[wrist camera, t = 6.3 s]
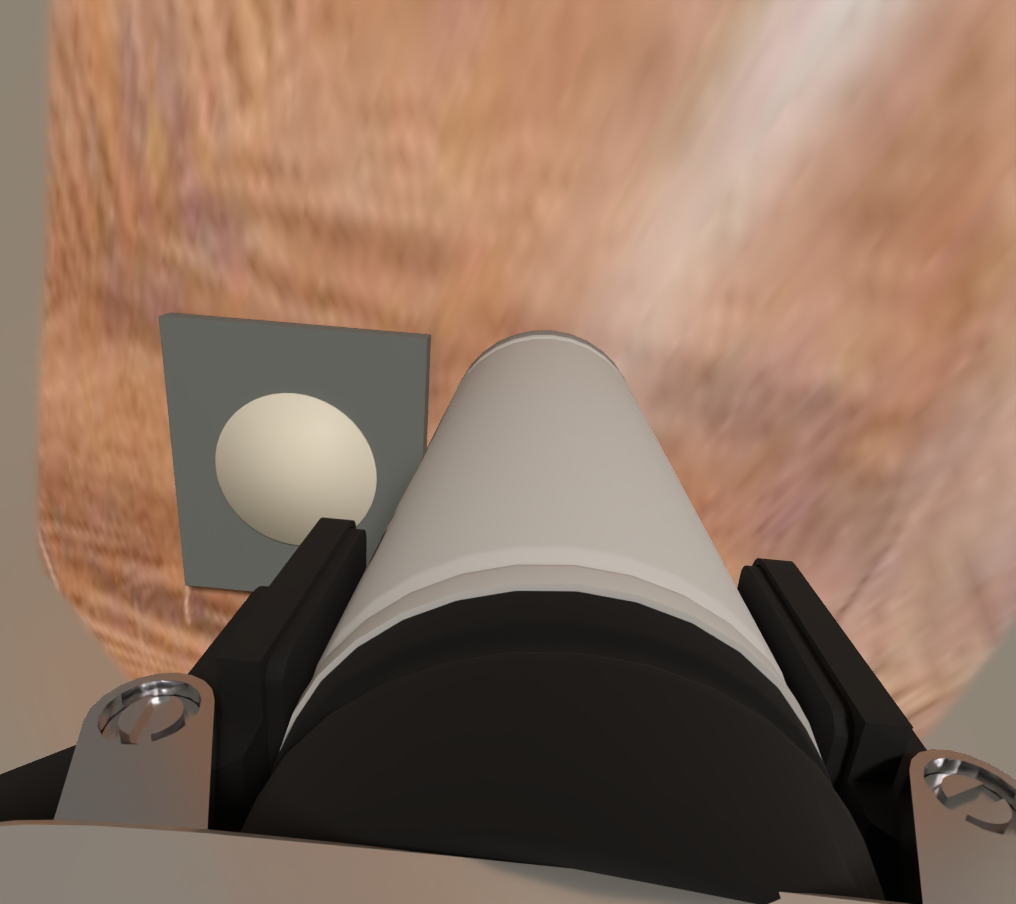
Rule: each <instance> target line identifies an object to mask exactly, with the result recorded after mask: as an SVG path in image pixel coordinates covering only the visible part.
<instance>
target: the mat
mask: <svg viewBox="0 0 1016 904" xmlns="http://www.w3.org/2000/svg"><path fill="white" fill-rule="evenodd" d="M159 324H160V334H161V344H162V354H163V364H164V374H165V384H166V395H167V405H168V415H169V425H170V435H171V445H172V455H173V465H174V475H175V485H176V496H177V506H178V516H179V526H180V536H181V546H182V556H183V566H184V576H185V585H189V586H199V587H210V588H221V589H231V590H242V591H254V590H255V589H256V588H257V587H259V586H269V585H270V584H271V583H272V581H273V580H274V579H275V577H276V576H277V575H278V574H279V572H280V571H281V570H282V568H283V567H284V566H285V564H286V563H287V562H288V560H289V559H290V558H291V556H292V555H293V554H294V552H295V551H296V550H297V548H298V547H299V546H300V544H301V543H302V542H303V540H304V539H305V538H306V536H307V535H308V534H309V533H310V531H311V530H312V529H313V527H314V526H315V525H316V523H317V522H318V521H319V519H320V518H322V517H324V518H334V519H345V520H354V521H355V523H356V529H364V530H365V531H366V537H367V552H366V568H367V566H368V564H369V562H370V560H371V558H372V556H373V554H374V552H375V550H376V548H377V546H378V544H379V542H380V540H381V538H382V536H383V534H384V532H385V530H386V528H387V526H388V524H389V522H390V520H391V518H392V516H393V514H394V512H395V510H396V508H397V506H398V504H399V502H400V500H401V498H402V497H403V495H404V493H405V491H406V489H407V487H408V485H409V483H410V481H411V479H412V477H413V475H414V473H415V471H416V469H417V467H418V465H419V463H420V461H421V459H422V457H423V455H424V453H425V451H426V449H427V422H428V395H429V368H430V341H431V335H428V334H416V333H404V332H392V331H381V330H369V329H357V328H345V327H333V326H322V325H310V324H298V323H286V322H274V321H263V320H251V319H239V318H227V317H215V316H203V315H192V314H180V313H168V314H164V315H160V316H159Z"/></svg>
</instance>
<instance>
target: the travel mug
mask: <svg viewBox="0 0 1016 904" xmlns="http://www.w3.org/2000/svg"><path fill="white" fill-rule="evenodd" d="M240 833H249V834H259V835H269V836H279V837H289V838H299V839H309V840H319V841H328V842H338V843H348V844H358V845H366V846H374V847H382V848H391V849H400V850H409V851H418V852H427V853H436V854H445V855H453V856H462V857H471V858H480V859H489V860H498V861H506V862H515V863H525V864H534V865H543V866H552V867H561V868H570V869H577V870H582V871H588V872H593V873H598V874H603V875H609V876H614V877H619V878H624V879H629V880H635V881H640V882H645V883H650V884H656V885H661V886H666V887H671V888H677V889H682V890H687V891H692V892H697V893H702V894H707V895H712V896H718V897H723V898H728V899H733V900H738V901H743V902H748V903H754V904H769V903H772V902H775V901H777V900H779V899H781V897H780V894H779V892H790V893H815V894H829V895H838V896H847V897H856V898H865V899H874V900H883V901H886V900H885V897H884V894H883V891H882V888H881V885H880V883H879V880H878V877H877V874H876V872H875V869H874V866H873V863H872V861H871V858H870V855H869V852H868V850H867V847H866V844H865V842H864V839H863V837H862V835H861V833H860V831H859V829H858V827H857V825H856V823H855V821H854V820H853V818H852V816H851V814H850V812H849V810H848V809H847V807H846V806H845V804H844V803H843V801H842V800H841V798H840V797H839V795H838V794H837V792H836V791H835V790H834V788H833V786H832V783H831V780H830V777H829V774H828V772H827V769H826V766H825V764H824V762H823V760H822V758H821V755H820V752H819V749H818V747H817V744H816V741H815V738H814V735H813V733H812V730H811V727H810V724H809V722H808V720H807V718H806V716H805V715H804V713H803V711H802V709H801V707H800V705H799V703H798V702H797V700H796V698H795V697H794V695H793V694H792V692H791V691H790V689H789V688H788V686H787V685H786V682H785V680H784V677H783V674H782V672H781V670H780V668H779V666H778V664H777V662H776V660H775V659H774V657H773V655H772V653H771V651H770V649H769V647H768V646H767V644H766V642H765V640H764V638H763V636H762V634H761V632H760V631H759V629H758V627H757V625H756V623H755V621H754V619H753V618H752V616H751V614H750V612H749V610H748V608H747V606H746V604H745V603H744V601H743V599H742V597H741V595H740V593H739V591H738V590H737V588H736V586H735V584H734V582H733V580H732V578H731V576H730V575H729V573H728V571H727V569H726V567H725V565H724V563H723V562H722V560H721V558H720V556H719V554H718V552H717V550H716V549H715V547H714V545H713V543H712V541H711V539H710V537H709V535H708V534H707V532H706V530H705V528H704V526H703V524H702V522H701V521H700V519H699V517H698V515H697V513H696V511H695V509H694V507H693V506H692V504H691V502H690V500H689V498H688V496H687V494H686V493H685V491H684V489H683V487H682V485H681V483H680V481H679V479H678V478H677V476H676V474H675V472H674V470H673V468H672V466H671V465H670V463H669V461H668V459H667V457H666V455H665V453H664V451H663V450H662V448H661V446H660V444H659V442H658V440H657V438H656V437H655V435H654V433H653V431H652V429H651V427H650V425H649V424H648V422H647V420H646V418H645V416H644V414H643V412H642V410H641V409H640V407H639V405H638V403H637V401H636V399H635V397H634V396H633V394H632V392H631V390H630V388H629V386H628V384H627V382H626V381H625V379H624V377H623V376H622V374H621V373H620V371H619V369H618V368H617V366H616V365H615V363H614V362H613V361H612V360H611V359H610V358H609V357H608V356H607V355H606V354H605V353H604V352H603V351H602V350H600V349H598V348H597V347H595V346H594V345H592V344H591V343H589V342H588V341H586V340H584V339H581V338H579V337H576V336H574V335H571V334H568V333H562V332H557V331H552V330H550V331H529V332H525V333H520V334H515V335H513V336H510V337H508V338H506V339H503V340H501V341H499V342H497V343H496V344H494V345H493V346H491V347H490V348H488V349H487V350H486V351H484V352H483V353H482V354H481V355H480V356H479V357H478V358H477V359H476V360H475V361H474V362H473V363H472V364H471V366H470V367H469V369H468V370H467V372H466V374H465V375H464V377H463V378H462V380H461V382H460V384H459V386H458V388H457V390H456V392H455V394H454V396H453V398H452V400H451V402H450V404H449V406H448V408H447V410H446V412H445V414H444V416H443V418H442V419H441V421H440V423H439V425H438V427H437V429H436V431H435V433H434V435H433V437H432V439H431V441H430V443H429V445H428V447H427V449H426V451H425V453H424V455H423V457H422V459H421V461H420V463H419V465H418V467H417V469H416V471H415V473H414V475H413V477H412V479H411V481H410V483H409V485H408V487H407V489H406V491H405V493H404V495H403V497H402V498H401V500H400V502H399V504H398V506H397V508H396V510H395V512H394V514H393V516H392V518H391V520H390V522H389V524H388V526H387V528H386V530H385V532H384V534H383V536H382V538H381V540H380V542H379V544H378V546H377V548H376V550H375V552H374V554H373V556H372V558H371V560H370V562H369V564H368V566H367V568H366V570H365V572H364V574H363V576H362V578H361V579H360V581H359V583H358V585H357V587H356V589H355V591H354V593H353V595H352V597H351V599H350V601H349V603H348V605H347V607H346V609H345V611H344V613H343V615H342V617H341V619H340V621H339V623H338V625H337V627H336V629H335V631H334V633H333V635H332V637H331V639H330V641H329V643H328V645H327V647H326V649H325V651H324V653H323V655H322V657H321V658H320V660H319V662H318V664H317V667H316V670H315V672H314V675H313V678H312V680H311V682H310V683H309V685H308V686H307V688H306V689H305V691H304V692H303V694H302V696H301V698H300V700H299V702H298V704H297V706H296V708H295V710H294V712H293V714H292V717H291V719H290V722H289V725H288V728H287V731H286V734H285V737H284V739H283V742H282V745H281V748H280V751H279V754H278V756H277V759H276V762H275V765H274V768H273V770H272V773H271V776H270V778H269V780H268V781H267V783H266V784H265V786H264V787H263V789H262V790H261V792H260V793H259V795H258V796H257V798H256V800H255V802H254V804H253V806H252V808H251V810H250V812H249V814H248V816H247V818H246V820H245V823H244V825H243V827H242V829H241V831H240Z"/></svg>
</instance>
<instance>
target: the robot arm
mask: <svg viewBox="0 0 1016 904" xmlns="http://www.w3.org/2000/svg"><path fill="white" fill-rule="evenodd" d="M366 552H367V537H366V531H365V530H364V529H356V523H355V521H354V520H345V519H334V518H324V517H322V518H320V519H319V521H318V522H317V523H316V525H315V526H314V527H313V529H312V530H311V531H310V533H309V534H308V535H307V536H306V538H305V539H304V540H303V542H302V543H301V544H300V546H299V547H298V548H297V550H296V551H295V552H294V554H293V555H292V556H291V558H290V559H289V560H288V562H287V563H286V564H285V566H284V567H283V568H282V570H281V571H280V572H279V574H278V575H277V576H276V577H275V579H274V580H273V581H272V583H271V584H270V585H269V586H259V587H257V588H256V589H255V590H254V591H253V592H252V593H251V595H250V596H249V597H248V598H247V600H246V601H245V602H244V604H243V605H242V606H241V607H240V609H239V610H238V611H237V612H236V614H235V615H234V616H233V618H232V619H231V620H230V621H229V623H228V624H227V625H226V626H225V628H224V629H223V630H222V631H221V633H220V634H219V635H218V637H217V638H216V639H215V640H214V642H213V643H212V644H211V645H210V647H209V648H208V649H207V651H206V652H205V653H204V654H203V656H202V657H201V658H200V659H199V661H198V662H197V663H196V664H195V666H194V667H193V668H192V670H191V671H190V672H189V673H188V674H182V673H162V674H154V675H150V676H146V677H141V678H138V679H135V680H133V681H130V682H128V683H125V684H123V685H120V686H119V687H117V688H115V689H114V690H112V691H111V692H109V693H107V694H106V695H104V696H103V697H102V698H101V699H100V700H99V701H98V702H97V703H96V704H94V705H93V706H92V707H91V709H90V710H89V712H88V714H87V716H86V718H85V719H84V721H83V725H82V728H81V731H80V734H79V738H78V741H77V744H76V745H75V746H72V747H70V748H67V749H65V750H62V751H59V752H57V753H54V754H52V755H49V756H47V757H44V758H41V759H39V760H36V761H34V762H32V763H29V764H26V765H23V766H21V767H18V768H16V769H13V770H11V771H8V772H6V773H3V774H1V775H0V904H754V903H748V902H743V901H738V900H733V899H728V898H723V897H718V896H712V895H707V894H702V893H697V892H692V891H687V890H682V889H677V888H671V887H666V886H661V885H656V884H650V883H645V882H640V881H635V880H629V879H624V878H619V877H614V876H609V875H603V874H598V873H593V872H588V871H582V870H577V869H570V868H561V867H552V866H543V865H534V864H525V863H515V862H506V861H498V860H489V859H480V858H471V857H462V856H453V855H445V854H436V853H427V852H418V851H409V850H400V849H391V848H382V847H374V846H366V845H358V844H348V843H338V842H328V841H319V840H309V839H299V838H289V837H279V836H269V835H259V834H249V833H240V831H241V829H242V827H243V825H244V823H245V820H246V818H247V816H248V814H249V812H250V810H251V808H252V806H253V804H254V802H255V800H256V798H257V796H258V795H259V793H260V792H261V790H262V789H263V787H264V786H265V784H266V783H267V781H268V780H269V778H270V776H271V773H272V770H273V768H274V765H275V762H276V759H277V756H278V754H279V751H280V748H281V745H282V742H283V739H284V737H285V734H286V731H287V728H288V725H289V722H290V719H291V717H292V714H293V712H294V710H295V708H296V706H297V704H298V702H299V700H300V698H301V696H302V694H303V692H304V691H305V689H306V688H307V686H308V685H309V683H310V682H311V680H312V678H313V675H314V672H315V670H316V667H317V664H318V662H319V660H320V658H321V657H322V655H323V653H324V651H325V649H326V647H327V645H328V643H329V641H330V639H331V637H332V635H333V633H334V631H335V629H336V627H337V625H338V623H339V621H340V619H341V617H342V615H343V613H344V611H345V609H346V607H347V605H348V603H349V601H350V599H351V597H352V595H353V593H354V591H355V589H356V587H357V585H358V583H359V581H360V579H361V578H362V576H363V574H364V572H365V570H366ZM737 590H738V591H739V593H740V595H741V597H742V599H743V601H744V603H745V604H746V606H747V608H748V610H749V612H750V614H751V616H752V618H753V619H754V621H755V623H756V625H757V627H758V629H759V631H760V632H761V634H762V636H763V638H764V640H765V642H766V644H767V646H768V647H769V649H770V651H771V653H772V655H773V657H774V659H775V660H776V662H777V664H778V666H779V668H780V670H781V672H782V674H783V677H784V680H785V682H786V685H787V686H788V688H789V689H790V691H791V692H792V694H793V695H794V697H795V698H796V700H797V702H798V703H799V705H800V707H801V709H802V711H803V713H804V715H805V716H806V718H807V720H808V722H809V724H810V727H811V730H812V733H813V735H814V738H815V741H816V744H817V747H818V749H819V752H820V755H821V758H822V760H823V762H824V764H825V766H826V769H827V772H828V774H829V777H830V780H831V783H832V786H833V788H834V790H835V791H836V792H837V794H838V795H839V797H840V798H841V800H842V801H843V803H844V804H845V806H846V807H847V809H848V810H849V812H850V814H851V816H852V818H853V820H854V821H855V823H856V825H857V827H858V829H859V831H860V833H861V835H862V837H863V839H864V842H865V844H866V847H867V850H868V852H869V855H870V858H871V861H872V863H873V866H874V869H875V872H876V874H877V877H878V880H879V883H880V885H881V888H882V891H883V894H884V897H885V900H886V901H883V900H874V899H865V898H856V897H847V896H838V895H829V894H815V893H790V892H779V894H780V897H781V899H779V900H777V901H775V902H772V903H769V904H1016V780H1015V779H1013V778H1012V777H1011V776H1009V775H1008V774H1006V773H1004V772H1003V771H1001V770H999V769H997V768H996V767H994V766H992V765H991V764H989V763H986V762H984V761H981V760H979V759H976V758H974V757H972V756H969V755H966V754H962V753H958V752H954V751H950V750H936V749H931V750H926V748H925V747H924V745H923V744H922V743H921V741H920V740H919V738H918V737H917V736H916V734H915V733H914V731H913V730H912V729H913V726H912V725H911V724H910V722H909V721H908V720H907V718H906V717H905V715H904V714H903V713H902V711H901V710H900V709H899V707H898V706H897V704H896V703H895V702H894V700H893V699H892V698H891V696H890V695H889V693H888V692H887V691H886V689H885V688H884V686H883V685H882V684H881V682H880V681H879V680H878V678H877V677H876V675H875V674H874V673H873V671H872V670H871V669H870V667H869V666H868V664H867V663H866V662H865V660H864V659H863V658H862V656H861V655H860V653H859V652H858V651H857V649H856V648H855V646H854V645H853V644H852V642H851V641H850V640H849V638H848V637H847V635H846V634H845V633H844V631H843V630H842V629H841V627H840V626H839V624H838V623H837V622H836V620H835V619H834V617H833V616H832V615H831V613H830V612H829V611H828V609H827V608H826V606H825V605H824V604H823V602H822V601H821V600H820V598H819V597H818V595H817V594H816V593H815V591H814V590H813V589H812V587H811V586H810V584H809V583H808V582H807V580H806V579H805V577H804V576H803V575H802V573H801V572H800V571H799V569H798V568H797V566H796V565H795V564H794V563H793V562H792V561H782V560H771V559H760V558H757V559H756V560H755V561H754V563H753V565H752V566H746V565H745V566H744V567H743V569H742V571H741V575H740V579H739V584H738V588H737Z"/></svg>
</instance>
